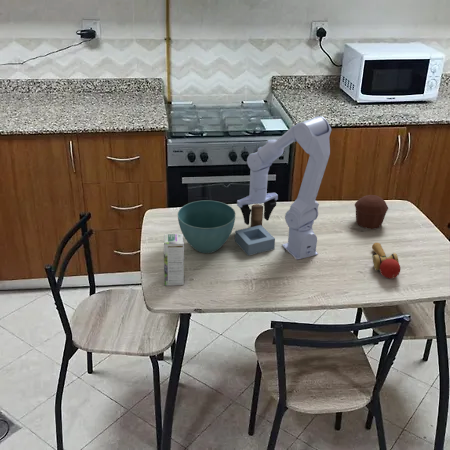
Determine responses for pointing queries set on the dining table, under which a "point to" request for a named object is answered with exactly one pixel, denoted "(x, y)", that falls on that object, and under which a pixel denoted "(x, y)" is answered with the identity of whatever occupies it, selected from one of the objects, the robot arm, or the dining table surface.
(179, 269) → the syrup box
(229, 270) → the dining table surface
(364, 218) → the muffin
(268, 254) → the dining table surface
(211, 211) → the teal bowl
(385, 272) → the kendama
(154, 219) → the dining table surface
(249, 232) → the socket
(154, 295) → the dining table surface
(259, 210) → the peg
